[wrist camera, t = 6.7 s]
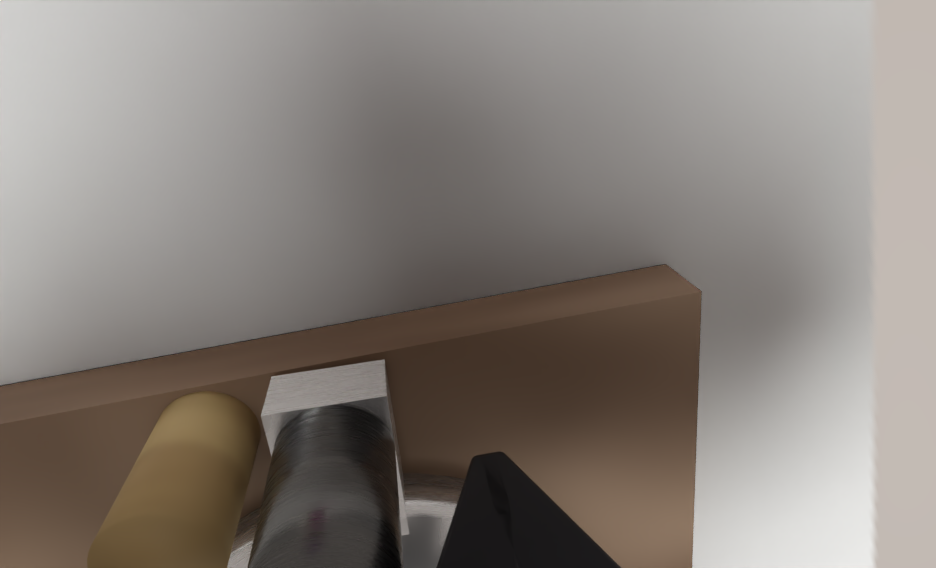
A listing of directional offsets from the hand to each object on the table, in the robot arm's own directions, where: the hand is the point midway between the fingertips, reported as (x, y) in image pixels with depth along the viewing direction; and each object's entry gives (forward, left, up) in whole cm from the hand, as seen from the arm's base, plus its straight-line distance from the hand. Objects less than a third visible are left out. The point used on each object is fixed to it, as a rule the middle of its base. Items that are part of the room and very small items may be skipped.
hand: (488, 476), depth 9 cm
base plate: (-6, -3, -4) cm, 8 cm away
